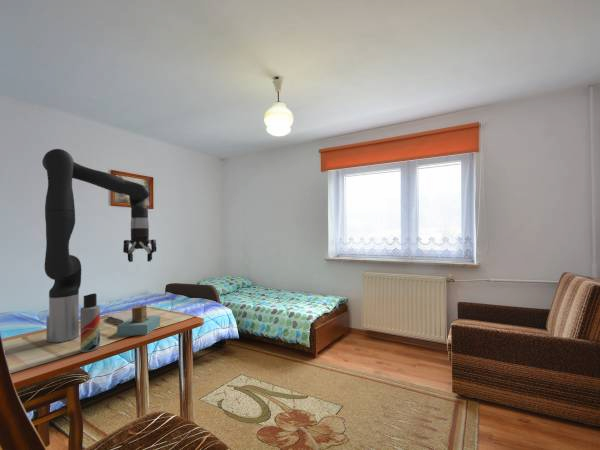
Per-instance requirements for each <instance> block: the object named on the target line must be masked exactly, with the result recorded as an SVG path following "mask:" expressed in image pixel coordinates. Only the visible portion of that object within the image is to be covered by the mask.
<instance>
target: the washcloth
mask: <svg viewBox="0 0 600 450" xmlns="http://www.w3.org/2000/svg"><path fill="white" fill-rule="evenodd" d="M147 317H148V315H147ZM130 318H132V309H128V310H127V309H126V310H125V311H120V312H114V313H111V314H110V313H109V314H108V315H107V317H106V319H107V320H108V321H109V322H113V323H116V324H118V325H120V324H121V323H123V322H125V321H127V320H128V319H130Z"/></svg>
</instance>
